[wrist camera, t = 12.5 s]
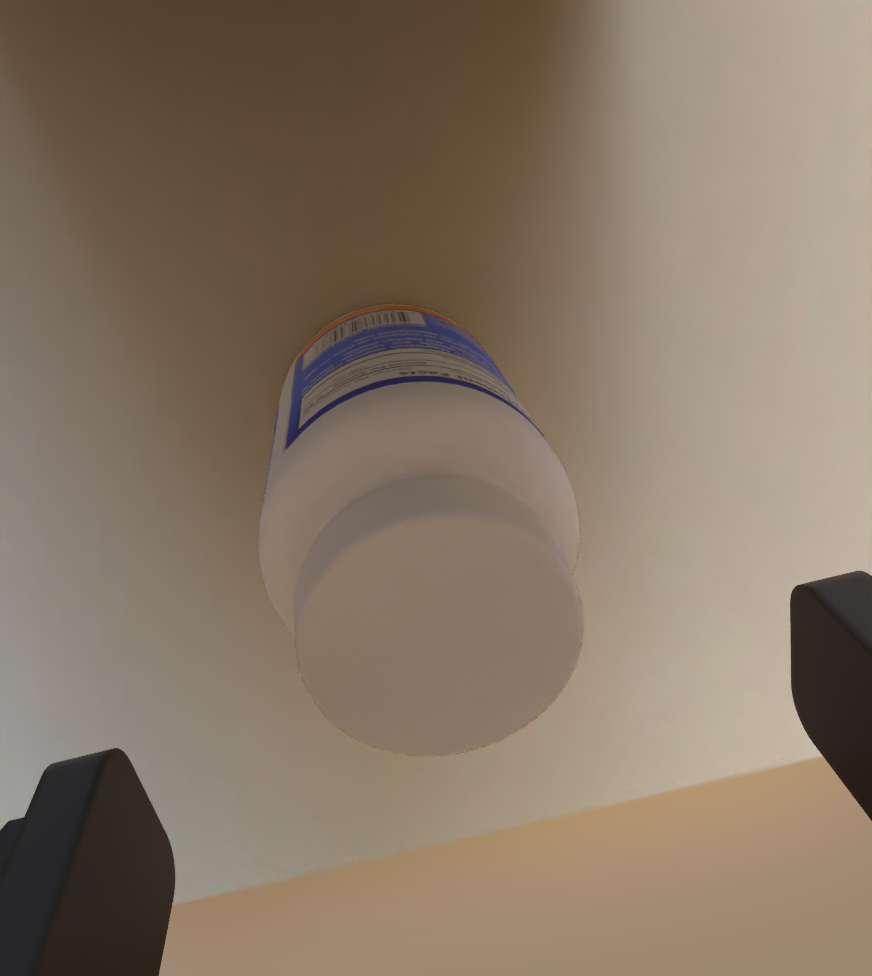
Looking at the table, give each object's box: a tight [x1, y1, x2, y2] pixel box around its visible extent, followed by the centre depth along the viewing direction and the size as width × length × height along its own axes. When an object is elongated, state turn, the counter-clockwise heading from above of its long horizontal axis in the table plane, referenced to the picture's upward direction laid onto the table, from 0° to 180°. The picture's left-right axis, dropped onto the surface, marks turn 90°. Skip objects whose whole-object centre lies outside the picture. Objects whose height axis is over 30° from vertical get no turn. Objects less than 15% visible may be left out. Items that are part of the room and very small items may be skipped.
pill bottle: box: [258, 304, 583, 756], centre depth 16 cm, size 5×5×10 cm
